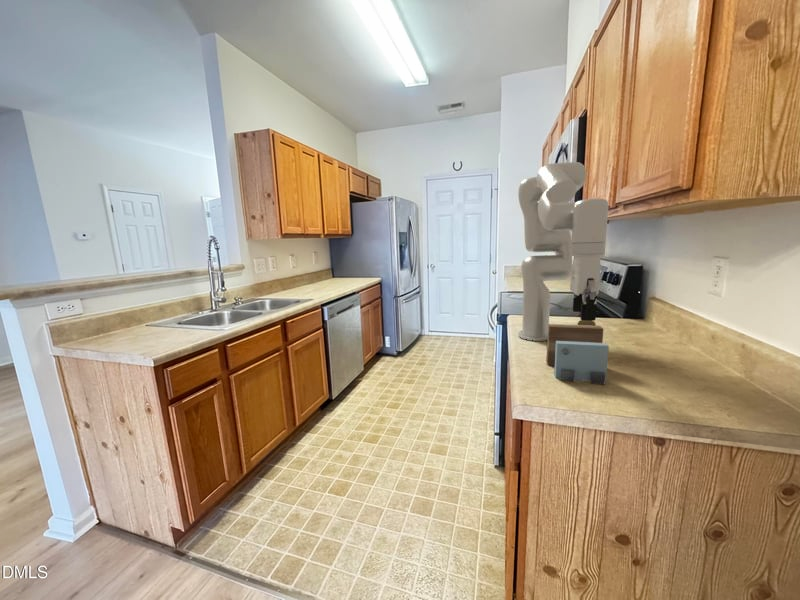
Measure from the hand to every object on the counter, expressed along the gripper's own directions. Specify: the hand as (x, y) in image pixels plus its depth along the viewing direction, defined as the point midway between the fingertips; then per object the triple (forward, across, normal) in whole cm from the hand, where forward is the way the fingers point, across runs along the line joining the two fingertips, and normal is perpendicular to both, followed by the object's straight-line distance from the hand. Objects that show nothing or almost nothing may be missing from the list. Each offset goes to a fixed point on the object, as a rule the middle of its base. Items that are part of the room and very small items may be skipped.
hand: (583, 315), depth 84 cm
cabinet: (+18, -10, 0) cm, 20 cm away
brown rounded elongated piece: (+18, -23, +6) cm, 29 cm away
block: (+18, 0, 0) cm, 18 cm away
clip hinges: (+17, -2, 0) cm, 18 cm away
